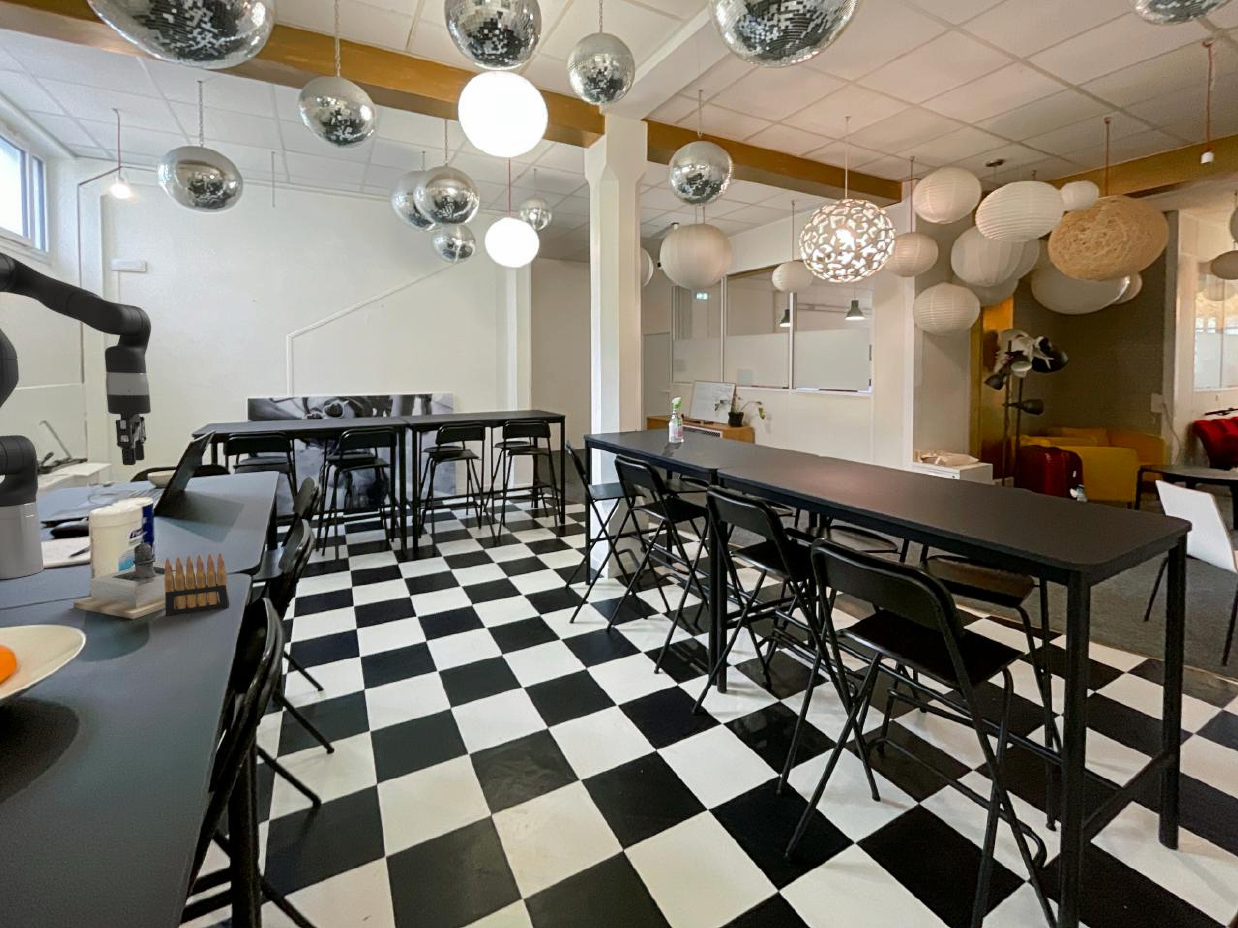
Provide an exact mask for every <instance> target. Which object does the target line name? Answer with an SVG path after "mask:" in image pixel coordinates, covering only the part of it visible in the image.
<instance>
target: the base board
mask: <svg viewBox="0 0 1238 928" xmlns="http://www.w3.org/2000/svg"><path fill="white" fill-rule="evenodd" d="M186 596H187V595H186ZM72 604H73V608H74V609H79V610H84V611H85V610H86V611H91V612H96V613H101V614H105V615H111V616H116V617H122V618H127V619H131V620H135V619H137V618H140V617H143V616H146V615H149V614H152V613H154V612H157V611H161V610H163V609H165V599H163V600H160V601H157V602H154V603H151V604H148V605H145V606H142V607H139V608H132V607H127V606H121V605H116V604H110V603H105V602H100V601H94V600H91V596H89V597H86V598H82V599H79V600H75V601H73V603H72ZM176 604H177V599H176Z"/></svg>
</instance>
